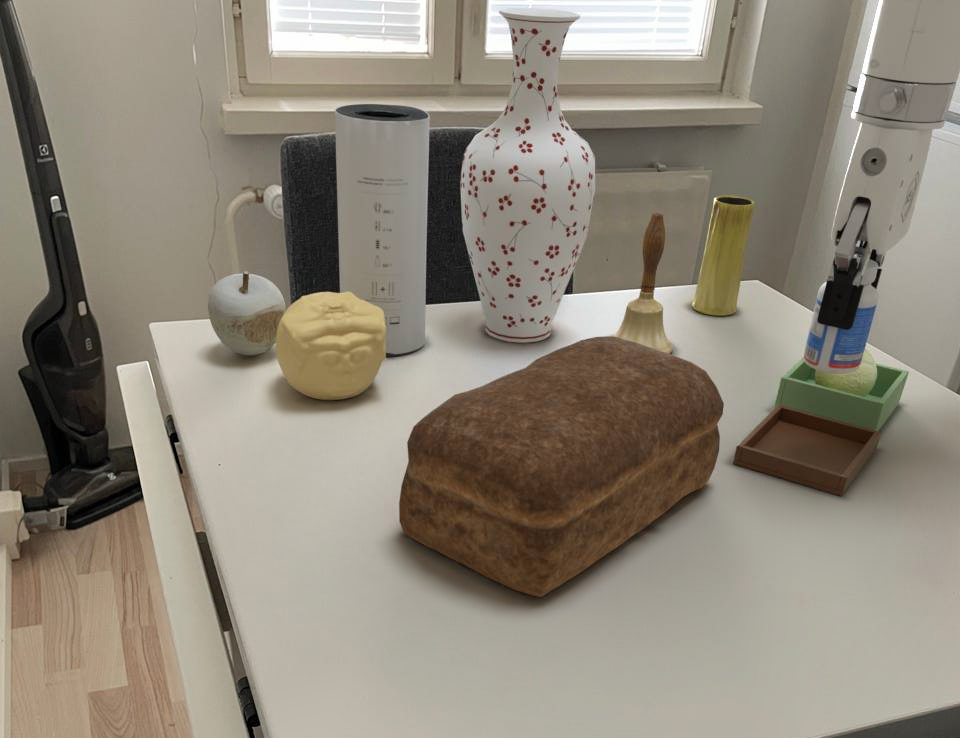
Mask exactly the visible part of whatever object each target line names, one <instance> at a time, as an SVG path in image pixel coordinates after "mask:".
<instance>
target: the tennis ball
mask: <svg viewBox="0 0 960 738" xmlns="http://www.w3.org/2000/svg"><path fill="white" fill-rule="evenodd" d="M875 363H876V361H875V359H874V358H873V355H872V354H871V353H870V352H869V351H868V350H867V349H866V348H865V350H864V353H863V357H862V361H861V364H860V367H859V368H858V369H857V370H856V371H854V372H851V373H845V374H833V373H827V372H822V371H819V370H816V372H815V384H816V385H820V386H824V387H828V388H832V389H836V390H840V391H844V392H847V393H851V394H855V395H859V396H863V397H866V396H867V395H868V394H869V393H870V391H871V390H872V388H873V386H874V384H875V381H876V378H877V368H876V364H877V363H876V364H875Z"/></svg>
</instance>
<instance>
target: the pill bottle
mask: <svg viewBox="0 0 960 738" xmlns="http://www.w3.org/2000/svg"><path fill="white" fill-rule="evenodd" d="M853 258H856V259H857V263H858V265H859V262H860V259H861V257H857V256H854V257H853ZM857 268H858V266H857ZM878 268H879V267H878V263H877V262H875V261H873V260H870V259H869V261H868V264H867V267H866V270H865V273H864V276H863V279H862V282H861V284H860V285H864V288H863V292H862V295H861V299H860V302H859V306H858V309H857V313H856V317H855V320H854V324H853V326H852V328H851V329H849V330H845V329H840V328H836V327H832V326H827V325H823V324H819V323H818V321H817V318H818V314H819V310H820V306H821V303H822V299H823V295H824V291H825V287H826V283H827V281H825V282H823V283H822V285H821V286H820V287H819V289H818V292H817V296H816V301H815V304H814V309H813V312H812V317H811V322H810V327H809V331H808V335H807V339H806V342H805V343H806V344H805V347H804V351H803V352H804V353H803V357H804V362H805V363H806V364H807V365H808V366H810V367H812V368H814V369H816V370H819V371H822V372H827V373H833V374H845V373H851V372H854V371H856V370H857V369H858V368H859V367H860V364H861V361H862V357H863V353H864V350H865V349H866V345H867V342H868V339H869V335H870V332H871V327H872V323H873V320H874V316H875V312H876V308H877V304H878V300H879V293H878V290H877V289H875V288H874V287H873V286H871V283H872V282H874V281H875V278H876V274H877V269H878Z"/></svg>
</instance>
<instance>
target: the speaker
mask: <svg viewBox="0 0 960 738" xmlns="http://www.w3.org/2000/svg"><path fill="white" fill-rule="evenodd" d="M430 117H431V116H430V114H429V113H428V111H425V110H423V109H421V108H417V107H414V106H407V105H401V104H400V105H399V104H387V103H386V104H385V103H384V104H383V103H356V104H354V103H353V104H346V105H340V106H338V107H336V108H335V109H334V124H335V126H334V127H335V129H334V130H335V131H334V133H335V163H336V164H335V165H336V197H337V198H336V199H337V233H338V234H337V235H338V267H339V268H338V269H339V270H338V271H339V273H338V274H339V293H344V292H347V291H349V292H352V293H353V294H354V295H355V296H356V297H358V298H359V299H361V300H364V301H366V302H368V303H370V304H373V305H375V306H377V307H380V308H381V309H382V310H383V312H384V316H385V325H386V344H385V347H386V357H394V356H403V355H408V354H410V353H411V354H412V353H414V352H417V351H418V350H419V349H421V348H422V347H423V346H424V345H425V343H426V314H427V313H426V312H427V311H426V310H427V307H426V304H427V303H426V300H427V299H426V296H427V294H426V293H427V291H426V290H427V241H428V239H427V236H428V235H427V234H428V198H429V196H428V194H429V192H428V191H429V190H428V189H429V160H430V159H429V157H430V156H429V155H430V153H429V152H430Z"/></svg>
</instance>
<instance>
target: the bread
mask: <svg viewBox="0 0 960 738" xmlns="http://www.w3.org/2000/svg"><path fill="white" fill-rule="evenodd" d="M724 406H725V403H724V401H723V398H722V397H721V394H720V392H719V389H718V387H717V385H716V383H714V381H713V379H712V378H711V376H710V375H709V373H708V372H707V370H704V369H703V368H702V367H700V366H698V365H697V364H695V363H693V362H692V361H689V360H687V359H685V358H681V357H678V356H675V355H673V354H672V353H670V354H668V353H665V352H661V351H658V350H655V349H653V348H650V347H647V346H644V345H641V344H639V343H635V342H632V341H628V340H625V339H621V338H618V337H614V336H612V335H608V336H607V335H606V336H594V337H589V338H585V339H581V340H579V341H576V342H574V343H572V344H569V345H566V346H563V347H560V348H558V349H556V350H554V351H551V352H548V353H547V354H544V355H543V356H540V357H538V358H536V359H535V360H534V361H532V362H531V363H530V364H528V365H527V366H525V367H523V368H522V369H521V368H520V369H518V370H516V371H513V372H510V373H508V374H506V375H504V376H501V377H499V378H496V379H494V380H491V381H490V382H488V383H485V384H484V385H481V386H478V387H475V388H473V389H469V390H467V391H462V392H459V393H456V394H454V395H452V396H451V397H449V398H448V399H447V400H445V401H444V402H442V403H441V404H440V405H438V406H437V407H435V408H434V409H432V410H431V411H430V412H429V413H427V414H426V415H425V416H424V417H422V418H421V419H420V420H419V421H418V422H417V423H415V425H414V426H413V427H412V429H411V432H410V435H409V437H408V439H407V441H406V443H407V444H406V445H407V446H406V447H407V460H408V462H407V464H406V465H407V466H406V468H405V472H404V476H403V479H402V483H401V487H400V493H399V500H398V514H399V515H398V516H399V520H398V521H399V524H400V526H401V529H402V533H404V534H405V535H406V536H408V537H409V538H411V539H413V540H414V541H416V542H418V543H420V544H422V545H423V546H425V547H428V548H429V549H431V550H434V551H436V552H438V553H439V554H442V555H443V556H446V557H448V558H449V559H451V560H453V561H455V562H457V563H459V564H461V565H463V566H466V567H467V568H469V569H471V570H473V571H475V572H476V573H478V574H480V575H482V576H484V577H486V578H487V579H490V580H492V581H493V582H496V583H499V584H501V585H503V586H505V587H507V588H509V589H511V590H514V591H516V592H520V593H523V594H527V595H530V596H534V597H538V598H542V597H544V596H546V595H547V594H548V593H549V592H551V591H553V590H555V589H556V588H559V587H560V586H561V585H564V584H566V582H568V581H569V580H571V579H572V578H574V577H576V576H577V575H579V574H580V573H582V572H584V571H585V570H587V569H588V568H589V567H591V566H592V565H593V564H595V563H596V562H598V561H599V560H600V559H602V558H603V557H605V556H606V555H607V554H609V553H611V552H612V551H614V550H615V549H616V548H618V547H620V546H621V545H622V544H624V543H625V542H626V541H628V540H629V539H630V538H631V537H633V536H635V535H636V534H637V533H639V532H641V531H642V530H644V529H645V528H646V527H648V526H649V525H650V524H651V523H652V522H654V521H655V520H656V519H658V518H659V517H661V516H663V515H664V514H665V513H667V511H668V510H670V509H671V508H672V507H673V506H674V505H675V504H676V503H678V502H679V501H680V500H681V499H683V498H684V497H685V496H688V495H689V494H691V493H693V492H695V491H698V490H699V489H701V488H703V487H705V485H706V484H707V483H708V482H709V480H710V478H711V476H712V474H713V472H714V470H715V468H716V464H717V461H718V457H719V452H720V440H721V438H720V437H721V436H720V435H721V434H720V431H719V427H718V424H719V422H720V420H721V418H722V417H723V414H724Z"/></svg>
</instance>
